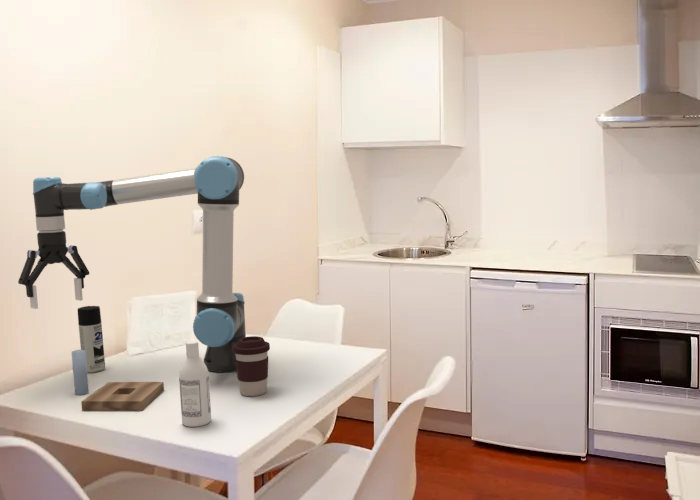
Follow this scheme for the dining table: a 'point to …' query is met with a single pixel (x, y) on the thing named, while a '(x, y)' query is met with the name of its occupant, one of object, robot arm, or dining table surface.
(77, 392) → the peg
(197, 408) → the bath foam
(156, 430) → the dining table surface
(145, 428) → the dining table surface
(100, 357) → the spray can
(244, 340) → the coffee cup
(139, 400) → the socket plate
